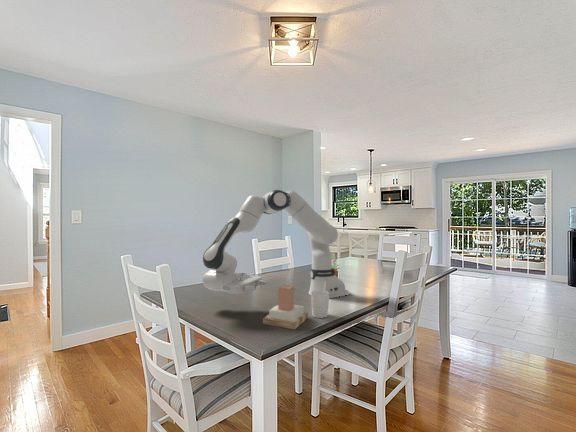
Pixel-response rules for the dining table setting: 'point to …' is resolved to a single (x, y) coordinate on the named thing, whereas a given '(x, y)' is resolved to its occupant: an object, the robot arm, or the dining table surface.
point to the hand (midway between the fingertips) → (260, 286)
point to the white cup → (320, 303)
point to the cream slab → (286, 313)
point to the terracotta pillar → (286, 297)
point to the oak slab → (285, 323)
